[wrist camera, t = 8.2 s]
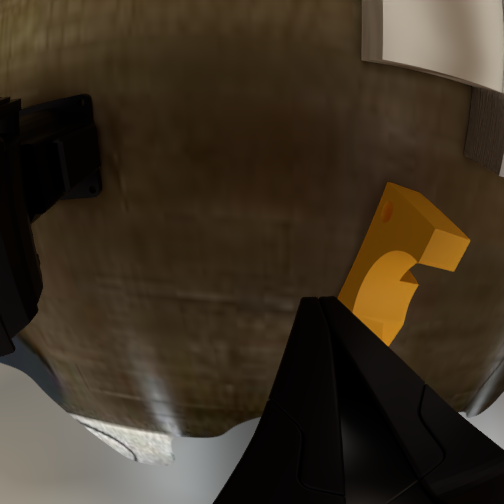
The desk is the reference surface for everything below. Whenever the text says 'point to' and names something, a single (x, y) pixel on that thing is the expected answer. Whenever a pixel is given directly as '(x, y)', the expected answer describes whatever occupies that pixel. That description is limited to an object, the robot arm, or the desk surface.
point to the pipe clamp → (398, 258)
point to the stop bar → (486, 128)
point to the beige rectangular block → (437, 38)
